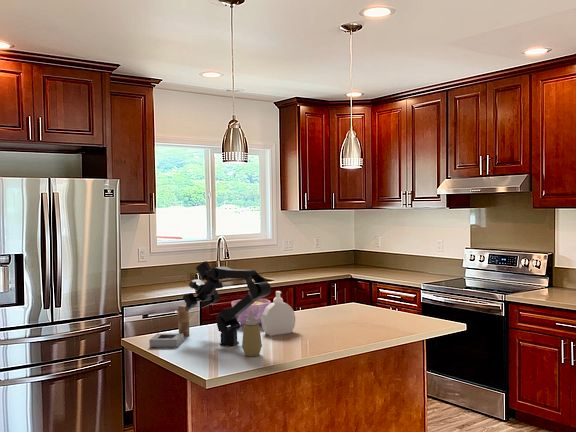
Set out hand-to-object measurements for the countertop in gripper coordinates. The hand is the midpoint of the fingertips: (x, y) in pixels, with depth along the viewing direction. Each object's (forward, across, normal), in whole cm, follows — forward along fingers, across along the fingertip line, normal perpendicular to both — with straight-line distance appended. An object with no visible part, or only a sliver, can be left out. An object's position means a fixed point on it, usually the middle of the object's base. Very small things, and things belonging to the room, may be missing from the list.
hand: (193, 309), depth 273 cm
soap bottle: (-10, -28, +29) cm, 42 cm away
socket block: (+9, +16, +9) cm, 21 cm away
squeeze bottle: (-22, +8, +40) cm, 46 cm away
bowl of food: (+7, -36, +12) cm, 39 cm away
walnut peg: (+14, 0, +4) cm, 15 cm away
